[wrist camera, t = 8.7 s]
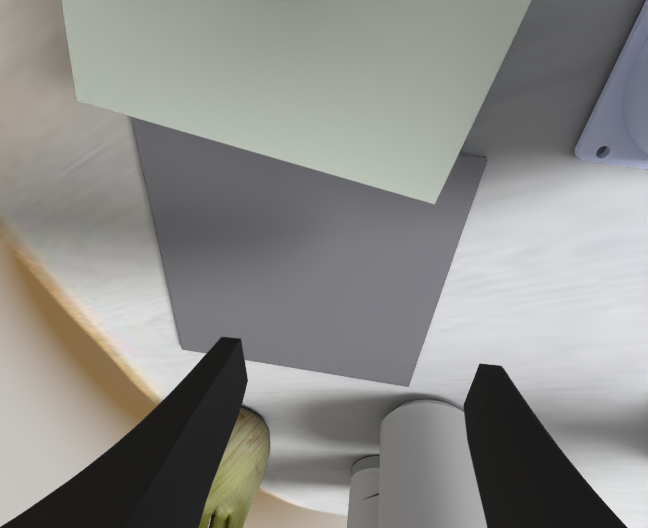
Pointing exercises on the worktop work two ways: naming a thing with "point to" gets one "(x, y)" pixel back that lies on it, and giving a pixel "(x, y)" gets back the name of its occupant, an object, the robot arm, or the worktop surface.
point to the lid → (302, 76)
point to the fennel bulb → (238, 473)
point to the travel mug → (364, 494)
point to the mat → (299, 255)
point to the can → (427, 469)
